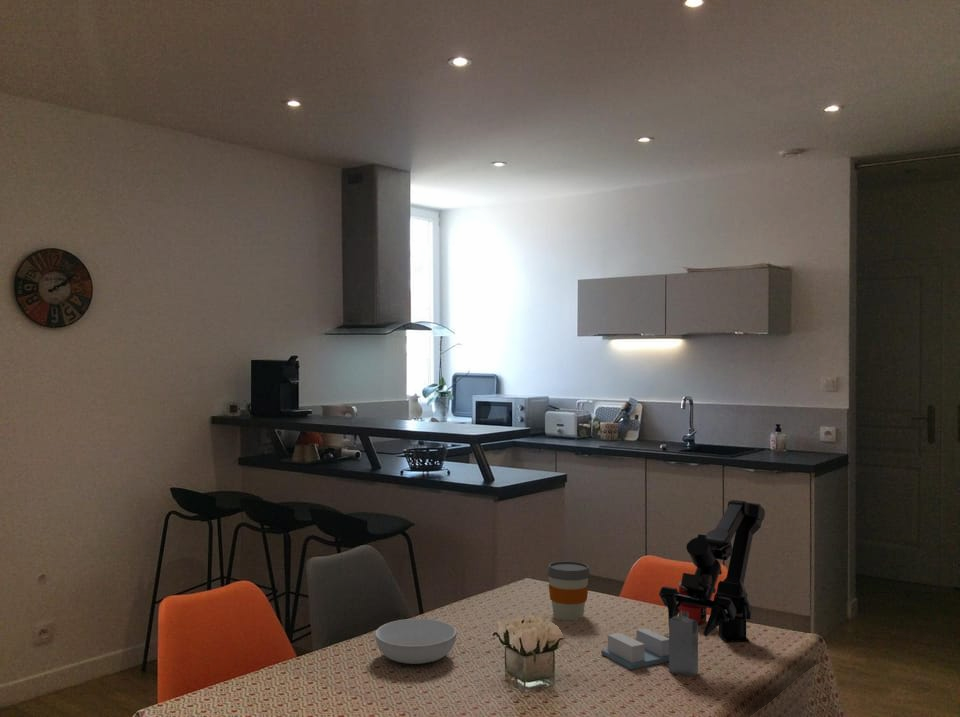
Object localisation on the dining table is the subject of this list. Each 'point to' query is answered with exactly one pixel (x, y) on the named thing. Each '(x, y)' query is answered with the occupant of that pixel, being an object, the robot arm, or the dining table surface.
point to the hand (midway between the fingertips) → (687, 631)
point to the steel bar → (683, 646)
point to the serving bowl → (415, 640)
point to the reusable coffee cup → (568, 589)
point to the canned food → (691, 609)
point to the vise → (638, 649)
